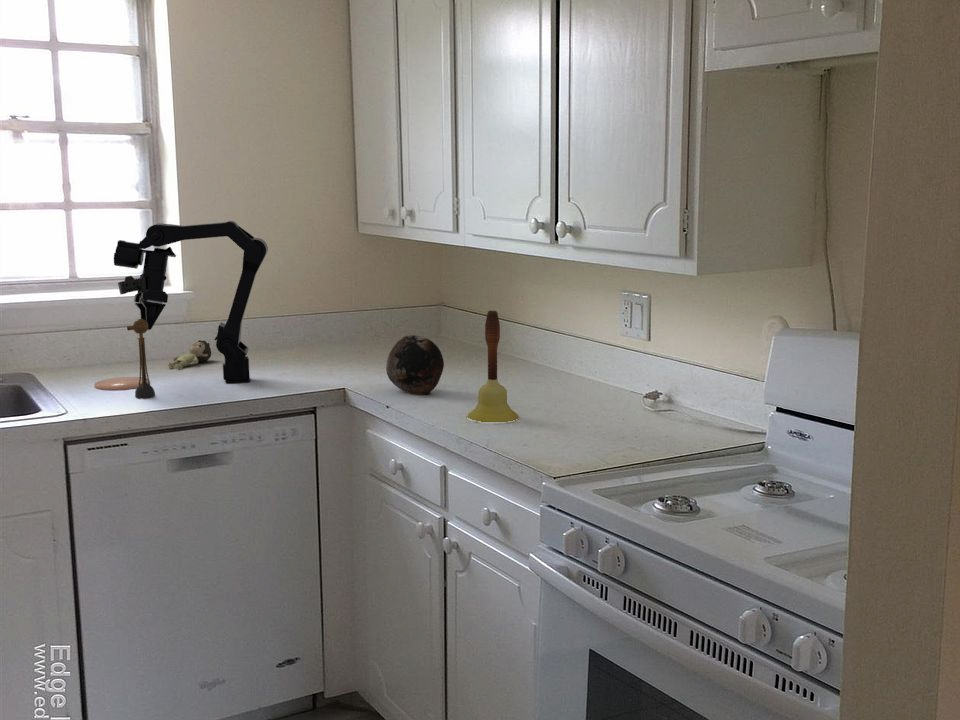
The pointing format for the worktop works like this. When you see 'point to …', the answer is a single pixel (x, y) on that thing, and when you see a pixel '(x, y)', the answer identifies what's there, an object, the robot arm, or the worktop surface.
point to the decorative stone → (415, 364)
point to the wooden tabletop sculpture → (142, 361)
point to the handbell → (492, 381)
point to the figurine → (193, 355)
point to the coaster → (119, 383)
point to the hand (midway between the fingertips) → (146, 329)
